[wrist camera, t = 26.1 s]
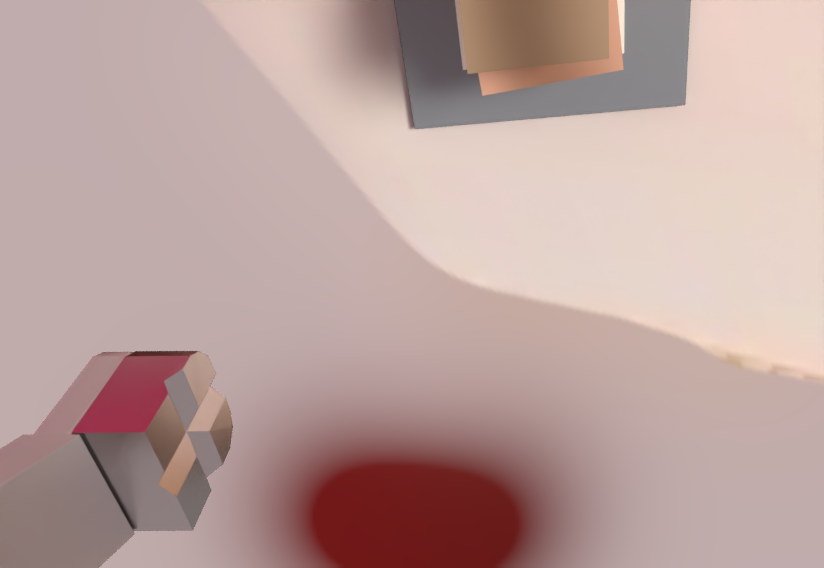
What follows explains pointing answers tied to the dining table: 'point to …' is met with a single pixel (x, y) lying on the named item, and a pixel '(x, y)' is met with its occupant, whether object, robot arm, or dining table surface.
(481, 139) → the dining table surface
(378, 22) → the dining table surface
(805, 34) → the dining table surface
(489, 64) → the walnut cube
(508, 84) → the terracotta block
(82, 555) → the robot arm
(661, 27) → the build mat
